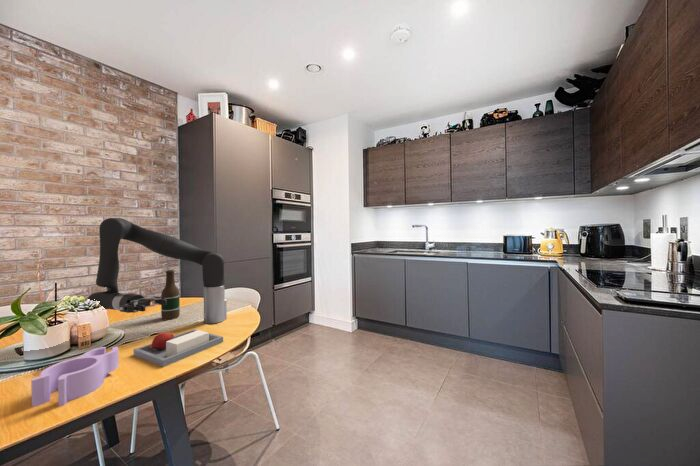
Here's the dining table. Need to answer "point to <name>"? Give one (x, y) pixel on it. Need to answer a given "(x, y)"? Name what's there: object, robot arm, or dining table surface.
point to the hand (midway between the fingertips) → (155, 305)
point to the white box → (186, 342)
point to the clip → (74, 376)
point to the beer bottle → (170, 298)
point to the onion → (161, 340)
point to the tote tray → (163, 360)
